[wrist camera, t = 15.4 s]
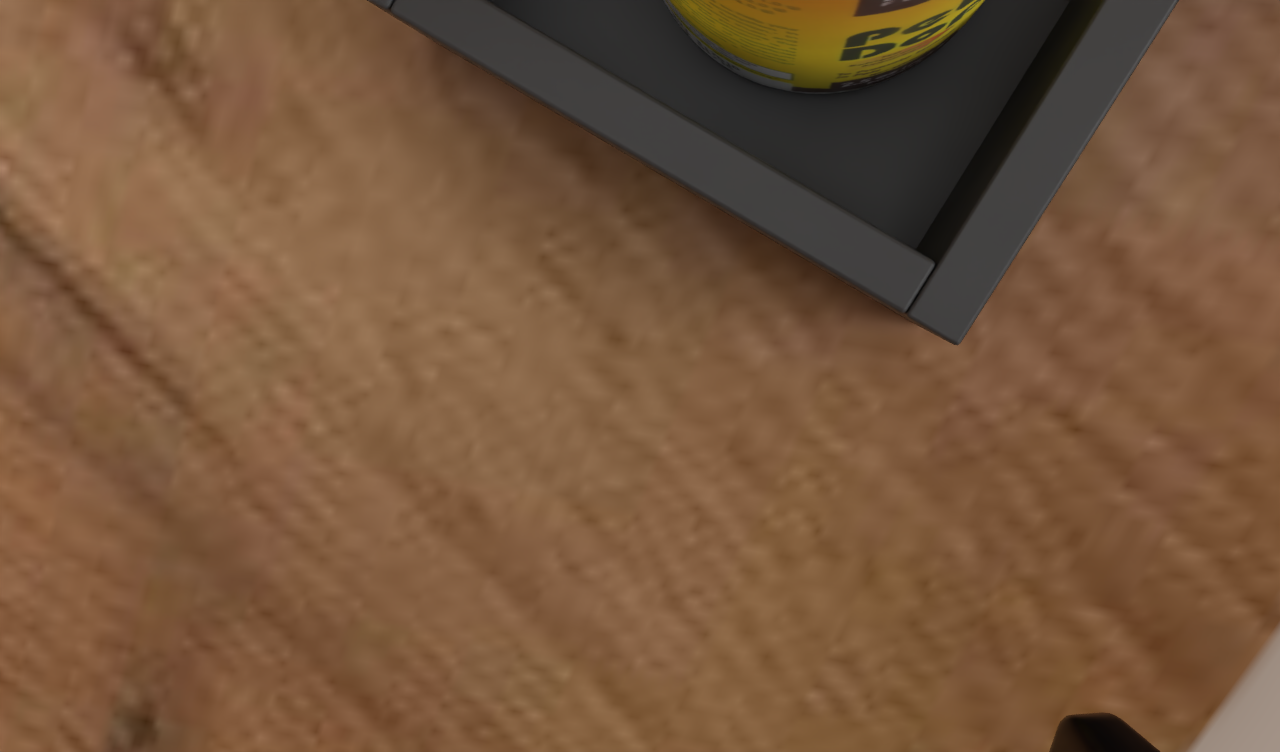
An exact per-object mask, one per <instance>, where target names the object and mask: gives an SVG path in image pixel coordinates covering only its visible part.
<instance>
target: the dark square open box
mask: <svg viewBox="0 0 1280 752" xmlns="http://www.w3.org/2000/svg"><path fill="white" fill-rule="evenodd" d="M367 1H369V2H371V3H372V4H374V5H376V6H377V7H379V8H380V9H382V10H384V11H385V12H387V13H389V14H390V15H392V16H394V17H395V18H397V19H398V20H400V21H402V22H403V23H405V24H407V25H408V26H410V27H412V28H413V29H415V30H416V31H418V32H420V33H421V34H423V35H425V36H426V37H428V38H430V39H431V40H433V41H435V42H436V43H438V44H440V45H441V46H443V47H445V48H447V49H448V50H450V51H452V52H453V53H455V54H457V55H458V56H460V57H462V58H464V59H465V60H467V61H469V62H470V63H472V64H474V65H475V66H477V67H479V68H481V69H482V70H484V71H486V72H487V73H489V74H491V75H493V76H494V77H496V78H498V79H499V80H501V81H503V82H504V83H506V84H508V85H510V86H511V87H513V88H515V89H516V90H518V91H520V92H521V93H523V94H525V95H527V96H528V97H530V98H532V99H533V100H535V101H537V102H538V103H540V104H542V105H544V106H545V107H547V108H549V109H550V110H552V111H554V112H555V113H557V114H559V115H561V116H562V117H564V118H566V119H567V120H569V121H571V122H572V123H574V124H576V125H578V126H579V127H581V128H583V129H584V130H586V131H588V132H590V133H591V134H593V135H595V136H596V137H598V138H600V139H601V140H603V141H605V142H607V143H608V144H610V145H612V146H613V147H615V148H617V149H618V150H620V151H622V152H624V153H625V154H627V155H629V156H630V157H632V158H634V159H635V160H637V161H639V162H641V163H642V164H644V165H646V166H647V167H649V168H651V169H652V170H654V171H656V172H658V173H659V174H661V175H663V176H664V177H666V178H668V179H669V180H671V181H673V182H675V183H676V184H678V185H680V186H681V187H683V188H685V189H687V190H688V191H690V192H692V193H693V194H695V195H697V196H698V197H700V198H702V199H704V200H705V201H707V202H709V203H710V204H712V205H714V206H715V207H717V208H719V209H721V210H722V211H724V212H726V213H727V214H729V215H731V216H732V217H734V218H736V219H738V220H739V221H741V222H743V223H744V224H746V225H748V226H749V227H751V228H753V229H755V230H756V231H758V232H760V233H761V234H763V235H765V236H766V237H768V238H770V239H772V240H773V241H775V242H777V243H778V244H780V245H782V246H784V247H785V248H787V249H789V250H790V251H792V252H794V253H795V254H797V255H799V256H801V257H802V258H804V259H806V260H807V261H809V262H811V263H812V264H814V265H816V266H818V267H819V268H821V269H823V270H824V271H826V272H828V273H829V274H831V275H833V276H835V277H836V278H838V279H840V280H841V281H843V282H845V283H846V284H848V285H850V286H852V287H853V288H855V289H857V290H858V291H860V292H862V293H864V294H865V295H867V296H869V297H870V298H872V299H874V300H875V301H877V302H879V303H881V304H882V305H884V306H886V307H887V308H889V309H891V310H892V311H894V312H896V313H898V314H899V315H901V316H903V317H904V318H906V319H908V320H909V321H911V322H913V323H915V324H916V325H918V326H920V327H922V328H924V329H925V330H927V331H929V332H931V333H933V334H935V335H937V336H939V337H941V338H942V339H944V340H946V341H948V342H950V343H952V344H954V345H959V344H960V343H961V342H962V340H963V338H964V337H965V335H966V334H967V332H968V331H969V329H970V327H971V326H972V324H973V323H974V321H975V320H976V318H977V316H978V315H979V313H980V312H981V310H982V309H983V307H984V305H985V304H986V302H987V301H988V299H989V298H990V296H991V294H992V293H993V291H994V290H995V288H996V287H997V285H998V283H999V282H1000V280H1001V279H1002V277H1003V276H1004V274H1005V272H1006V271H1007V269H1008V268H1009V266H1010V265H1011V263H1012V261H1013V260H1014V258H1015V257H1016V255H1017V254H1018V252H1019V250H1020V249H1021V247H1022V246H1023V244H1024V243H1025V241H1026V239H1027V238H1028V236H1029V235H1030V233H1031V232H1032V230H1033V229H1034V227H1035V225H1036V224H1037V222H1038V221H1039V219H1040V218H1041V216H1042V214H1043V213H1044V211H1045V210H1046V208H1047V207H1048V205H1049V203H1050V202H1051V200H1052V199H1053V197H1054V196H1055V194H1056V192H1057V191H1058V189H1059V188H1060V186H1061V185H1062V183H1063V181H1064V180H1065V178H1066V177H1067V175H1068V174H1069V172H1070V170H1071V169H1072V167H1073V166H1074V164H1075V163H1076V161H1077V159H1078V158H1079V156H1080V155H1081V153H1082V152H1083V150H1084V148H1085V147H1086V145H1087V144H1088V142H1089V141H1090V139H1091V137H1092V136H1093V134H1094V133H1095V131H1096V130H1097V128H1098V126H1099V125H1100V123H1101V122H1102V120H1103V119H1104V117H1105V115H1106V114H1107V112H1108V111H1109V109H1110V108H1111V106H1112V104H1113V103H1114V101H1115V100H1116V98H1117V97H1118V95H1119V93H1120V92H1121V90H1122V89H1123V87H1124V86H1125V84H1126V82H1127V81H1128V79H1129V78H1130V76H1131V75H1132V73H1133V72H1134V70H1135V68H1136V67H1137V65H1138V64H1139V62H1140V61H1141V59H1142V57H1143V56H1144V54H1145V53H1146V51H1147V50H1148V48H1149V46H1150V45H1151V43H1152V42H1153V40H1154V39H1155V37H1156V35H1157V34H1158V32H1159V31H1160V29H1161V28H1162V26H1163V24H1164V23H1165V21H1166V20H1167V18H1168V17H1169V15H1170V13H1171V12H1172V10H1173V9H1174V7H1175V6H1176V4H1177V2H1178V1H1179V0H985V1H984V2H983V3H982V5H981V6H980V7H979V8H978V9H977V11H976V12H975V13H974V14H973V15H972V17H971V18H970V19H969V20H968V21H967V23H966V24H965V25H964V26H963V27H962V28H961V29H960V30H959V31H958V32H957V33H956V34H955V35H954V36H953V37H952V38H951V39H950V40H949V41H948V42H947V43H946V44H944V45H943V46H942V47H941V48H940V49H939V50H937V51H936V52H935V53H933V54H932V55H931V56H929V57H928V58H927V59H925V60H924V61H922V62H920V63H919V64H917V65H916V66H914V67H912V68H911V69H909V70H907V71H905V72H904V73H902V74H900V75H897V76H895V77H893V78H891V79H889V80H886V81H884V82H881V83H878V84H875V85H872V86H869V87H865V88H862V89H858V90H852V91H847V92H841V93H829V94H807V93H799V92H791V91H786V90H781V89H776V88H772V87H768V86H765V85H762V84H759V83H756V82H753V81H751V80H749V79H746V78H744V77H742V76H740V75H738V74H736V73H734V72H732V71H731V70H729V69H728V68H726V67H724V66H723V65H721V64H720V63H718V62H717V61H715V60H714V59H713V58H711V57H710V56H709V55H708V54H707V53H706V52H704V51H703V50H702V49H701V48H700V47H699V46H698V45H697V44H696V43H695V42H694V41H693V40H692V39H691V38H690V37H689V35H688V34H687V33H686V32H685V31H684V30H683V29H682V27H681V26H680V25H679V24H678V22H677V21H676V20H675V18H674V16H673V15H672V13H671V12H670V10H669V9H668V7H667V6H666V4H665V2H664V0H367Z"/></svg>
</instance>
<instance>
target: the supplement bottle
mask: <svg viewBox="0 0 1280 752" xmlns="http://www.w3.org/2000/svg"><path fill="white" fill-rule="evenodd" d="M984 1H985V0H664V2H665V4H666V6H667V7H668V9H669V10H670V12H671V13H672V15H673V16H674V18H675V20H676V21H677V22H678V24H679V25H680V26H681V27H682V29H683V30H684V31H685V32H686V33H687V34H688V35H689V37H690V38H691V39H692V40H693V41H694V42H695V43H696V44H697V45H698V46H699V47H700V48H701V49H702V50H703V51H704V52H706V53H707V54H708V55H709V56H710V57H711V58H713V59H714V60H715V61H717V62H718V63H720V64H721V65H723V66H724V67H726V68H728V69H729V70H731V71H732V72H734V73H736V74H738V75H740V76H742V77H744V78H746V79H749V80H751V81H753V82H756V83H759V84H762V85H765V86H768V87H772V88H776V89H781V90H786V91H791V92H799V93H807V94H829V93H841V92H847V91H852V90H858V89H862V88H865V87H869V86H872V85H875V84H878V83H881V82H884V81H886V80H889V79H891V78H893V77H895V76H897V75H900V74H902V73H904V72H905V71H907V70H909V69H911V68H912V67H914V66H916V65H917V64H919V63H920V62H922V61H924V60H925V59H927V58H928V57H929V56H931V55H932V54H933V53H935V52H936V51H937V50H939V49H940V48H941V47H942V46H943V45H944V44H946V43H947V42H948V41H949V40H950V39H951V38H952V37H953V36H954V35H955V34H956V33H957V32H958V31H959V30H960V29H961V28H962V27H963V26H964V25H965V24H966V23H967V21H968V20H969V19H970V18H971V17H972V15H973V14H974V13H975V12H976V11H977V9H978V8H979V7H980V6H981V5H982V3H983V2H984Z"/></svg>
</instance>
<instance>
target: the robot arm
mask: <svg viewBox="0 0 1280 752" xmlns="http://www.w3.org/2000/svg"><path fill="white" fill-rule="evenodd" d="M1049 752H1160V751H1159V750H1158V749H1156V748H1155V747H1154V746H1153V745H1152V744H1151V743H1149V742H1148V741H1147V740H1146V739H1145V738H1143V737H1142V736H1141V735H1140V734H1139V733H1137V732H1136V731H1135V730H1134V729H1133V728H1131V727H1130V726H1129V725H1128V724H1127V723H1126V722H1124V721H1123V720H1122V719H1120V718H1118V717H1117V716H1115V715H1113V714H1110V713H1090V714H1076V715H1069V716H1066V717H1065V718H1064V719H1063V720H1062V721H1061V722H1060V723H1059V726H1058V728H1057V731H1056V734H1055V737H1054V740H1053V743H1052V745H1051V748H1050V751H1049Z"/></svg>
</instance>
